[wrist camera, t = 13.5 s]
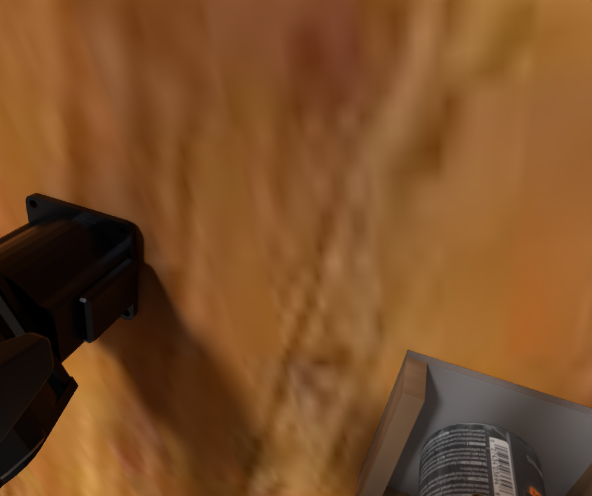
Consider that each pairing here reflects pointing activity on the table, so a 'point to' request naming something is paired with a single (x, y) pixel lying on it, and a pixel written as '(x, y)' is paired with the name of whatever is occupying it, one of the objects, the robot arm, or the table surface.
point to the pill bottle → (478, 463)
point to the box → (474, 409)
